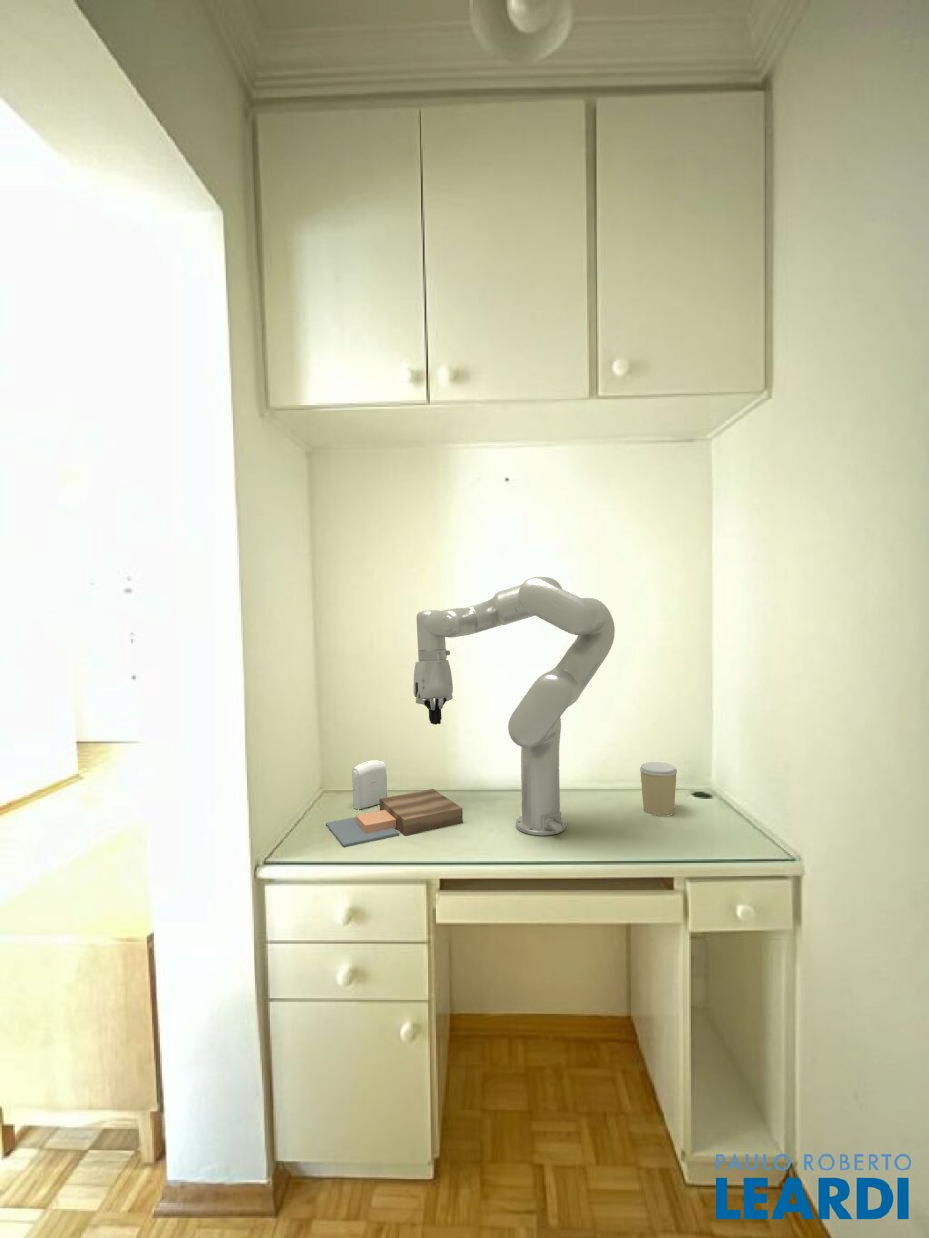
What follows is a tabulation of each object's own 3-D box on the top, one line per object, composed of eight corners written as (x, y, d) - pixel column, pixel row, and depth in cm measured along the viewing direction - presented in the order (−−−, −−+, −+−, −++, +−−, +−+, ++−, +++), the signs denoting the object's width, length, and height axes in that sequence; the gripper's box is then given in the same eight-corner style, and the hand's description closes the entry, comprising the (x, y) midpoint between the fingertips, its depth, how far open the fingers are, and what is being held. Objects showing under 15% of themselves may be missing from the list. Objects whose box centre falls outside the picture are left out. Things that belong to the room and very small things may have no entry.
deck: (462, 823, 155) (462, 807, 155) (404, 835, 148) (404, 819, 148) (433, 802, 171) (433, 788, 171) (379, 813, 164) (379, 798, 164)
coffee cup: (684, 812, 160) (684, 767, 159) (662, 820, 154) (661, 773, 154) (655, 802, 167) (655, 759, 167) (633, 810, 162) (632, 765, 162)
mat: (399, 835, 148) (399, 832, 148) (343, 847, 142) (343, 844, 142) (377, 814, 162) (377, 812, 162) (325, 825, 156) (325, 822, 156)
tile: (396, 827, 152) (396, 819, 152) (365, 833, 148) (365, 825, 148) (385, 817, 159) (385, 809, 159) (356, 822, 155) (355, 815, 155)
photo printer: (359, 811, 166) (358, 766, 165) (350, 807, 169) (349, 763, 168) (389, 801, 173) (388, 759, 172) (380, 798, 176) (379, 756, 175)
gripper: (449, 653, 170) (452, 717, 171) (401, 657, 163) (404, 725, 163) (463, 654, 164) (466, 721, 164) (413, 659, 156) (416, 729, 157)
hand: (435, 723), depth 164 cm, fingers closed
